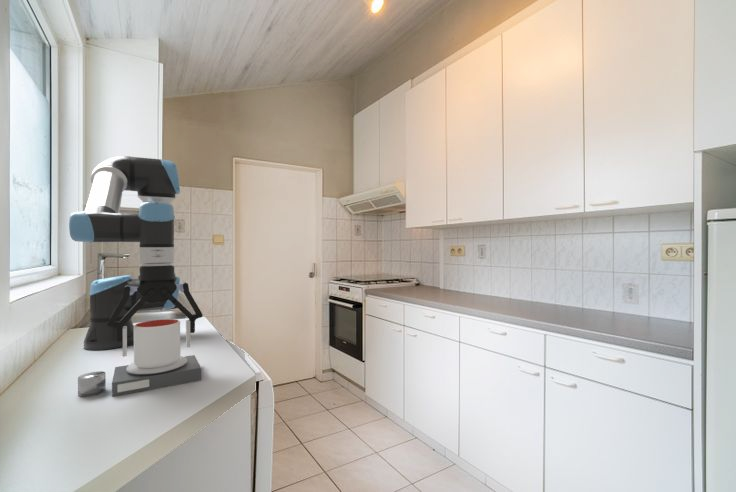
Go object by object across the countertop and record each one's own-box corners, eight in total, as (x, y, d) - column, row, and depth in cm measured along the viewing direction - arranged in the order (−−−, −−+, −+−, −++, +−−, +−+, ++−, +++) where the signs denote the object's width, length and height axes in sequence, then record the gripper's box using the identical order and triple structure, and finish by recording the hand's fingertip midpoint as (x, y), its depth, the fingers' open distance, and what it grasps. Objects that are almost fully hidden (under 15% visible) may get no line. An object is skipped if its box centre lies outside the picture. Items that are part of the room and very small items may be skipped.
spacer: (79, 391, 83) (79, 374, 83) (106, 387, 86) (106, 370, 86) (76, 399, 79) (76, 380, 79) (104, 393, 81) (104, 376, 81)
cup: (188, 357, 94) (188, 319, 95) (163, 370, 84) (163, 327, 85) (152, 357, 95) (152, 319, 96) (123, 369, 85) (123, 327, 86)
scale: (115, 379, 91) (115, 363, 91) (194, 365, 100) (194, 351, 100) (111, 397, 79) (111, 378, 79) (201, 380, 89) (201, 364, 89)
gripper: (93, 267, 80) (93, 363, 80) (213, 263, 94) (214, 345, 93) (96, 266, 87) (96, 354, 86) (208, 262, 100) (209, 339, 100)
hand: (157, 350), depth 90 cm, fingers open, 13 cm apart
